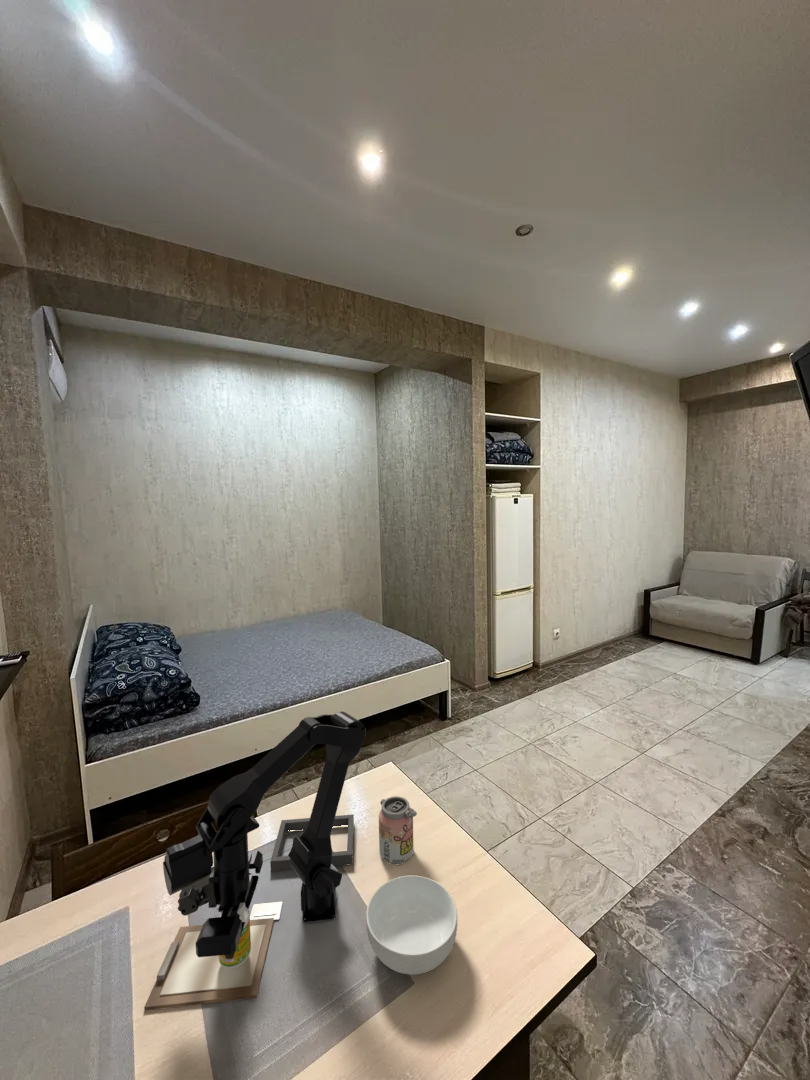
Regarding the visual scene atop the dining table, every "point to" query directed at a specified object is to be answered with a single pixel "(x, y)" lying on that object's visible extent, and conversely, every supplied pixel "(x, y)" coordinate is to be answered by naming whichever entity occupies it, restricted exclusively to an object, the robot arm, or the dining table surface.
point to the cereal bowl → (411, 924)
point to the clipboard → (208, 971)
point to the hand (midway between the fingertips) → (235, 941)
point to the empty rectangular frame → (299, 824)
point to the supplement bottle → (240, 942)
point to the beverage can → (396, 830)
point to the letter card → (266, 911)
